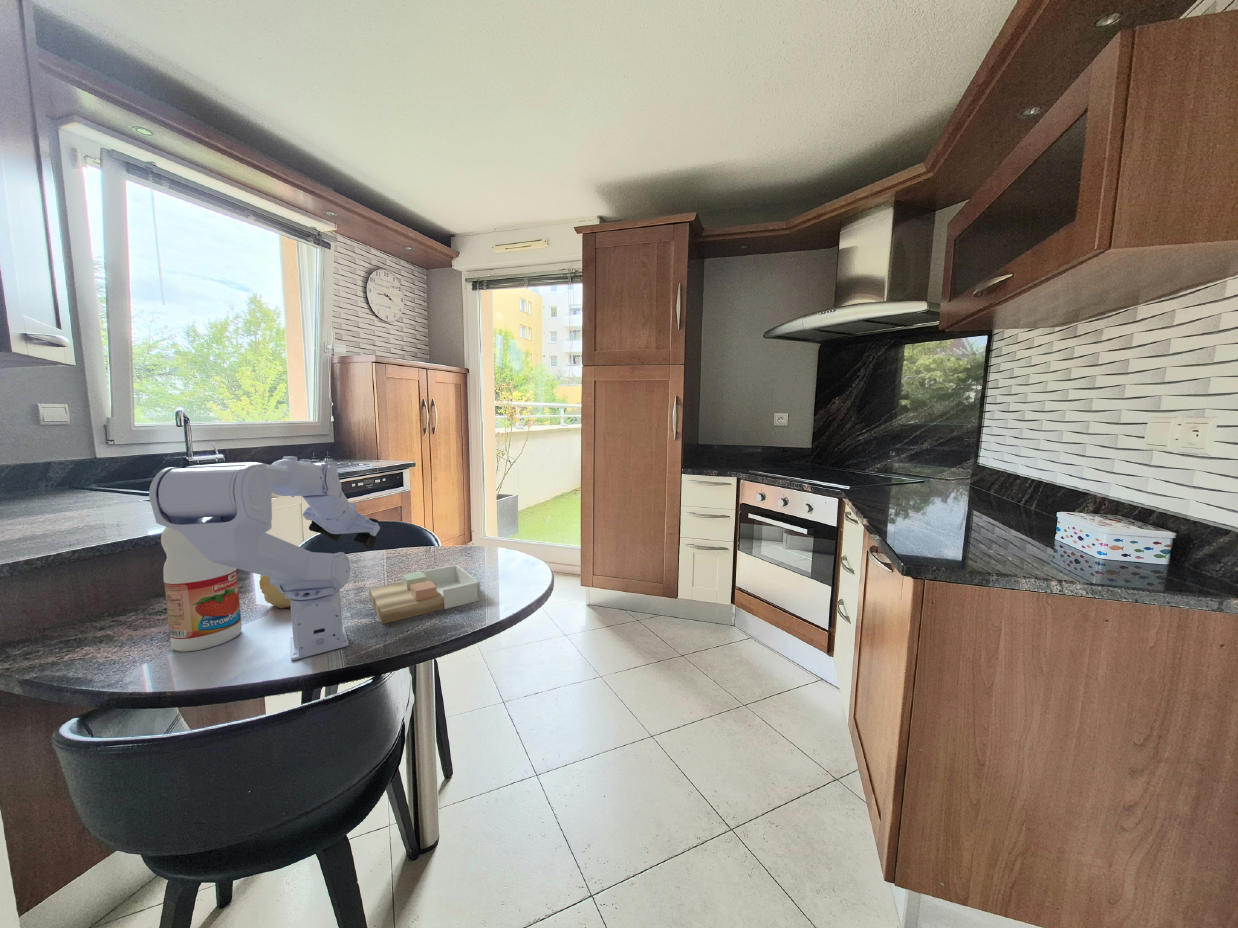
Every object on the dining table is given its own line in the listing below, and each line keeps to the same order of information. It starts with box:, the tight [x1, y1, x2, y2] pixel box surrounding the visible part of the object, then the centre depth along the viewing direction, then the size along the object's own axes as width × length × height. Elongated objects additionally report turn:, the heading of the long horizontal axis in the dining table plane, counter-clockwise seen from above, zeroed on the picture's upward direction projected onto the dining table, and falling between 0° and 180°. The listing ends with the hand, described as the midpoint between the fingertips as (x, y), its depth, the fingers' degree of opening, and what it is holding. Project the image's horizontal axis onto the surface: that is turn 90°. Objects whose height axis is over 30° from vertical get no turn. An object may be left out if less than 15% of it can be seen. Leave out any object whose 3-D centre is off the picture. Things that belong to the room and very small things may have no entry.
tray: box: [423, 564, 482, 610], centre depth 100 cm, size 16×8×4 cm, turn 36°
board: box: [368, 580, 445, 625], centre depth 95 cm, size 16×12×2 cm
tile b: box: [401, 570, 427, 589], centre depth 100 cm, size 5×4×2 cm
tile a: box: [410, 581, 437, 601], centre depth 93 cm, size 5×4×2 cm
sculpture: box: [258, 575, 291, 609], centre depth 97 cm, size 12×12×11 cm
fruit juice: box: [160, 527, 243, 653], centre depth 79 cm, size 9×9×28 cm
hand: (355, 540), depth 96 cm, fingers open, 7 cm apart
